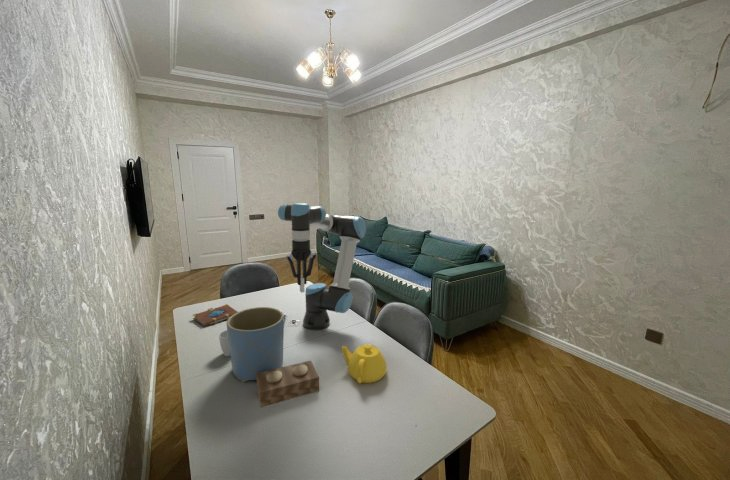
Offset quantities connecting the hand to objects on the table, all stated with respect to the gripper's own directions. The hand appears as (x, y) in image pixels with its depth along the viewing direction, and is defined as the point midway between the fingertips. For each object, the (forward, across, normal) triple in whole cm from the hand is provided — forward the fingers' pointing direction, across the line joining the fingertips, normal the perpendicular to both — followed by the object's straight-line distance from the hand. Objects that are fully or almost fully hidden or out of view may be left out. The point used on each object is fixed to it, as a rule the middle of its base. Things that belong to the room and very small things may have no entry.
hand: (302, 291), depth 135 cm
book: (+33, +35, -62) cm, 78 cm away
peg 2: (+32, +6, +19) cm, 38 cm away
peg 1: (+32, +16, +19) cm, 41 cm away
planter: (+33, +20, 0) cm, 38 cm away
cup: (+33, +31, -17) cm, 48 cm away
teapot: (+33, -20, +22) cm, 44 cm away
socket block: (+32, +11, +19) cm, 39 cm away
